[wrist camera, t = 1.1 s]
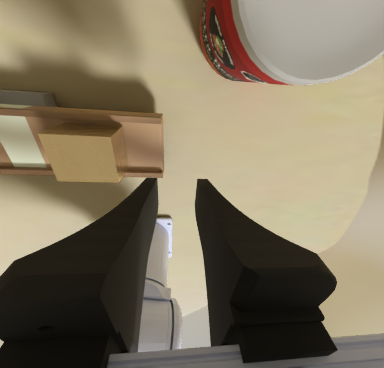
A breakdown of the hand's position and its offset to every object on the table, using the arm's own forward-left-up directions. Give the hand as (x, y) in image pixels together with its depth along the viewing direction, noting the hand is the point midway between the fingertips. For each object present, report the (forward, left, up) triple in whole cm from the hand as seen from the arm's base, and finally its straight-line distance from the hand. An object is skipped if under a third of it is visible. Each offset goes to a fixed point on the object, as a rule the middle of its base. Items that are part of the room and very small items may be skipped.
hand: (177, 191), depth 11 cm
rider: (0, +7, -7) cm, 10 cm away
